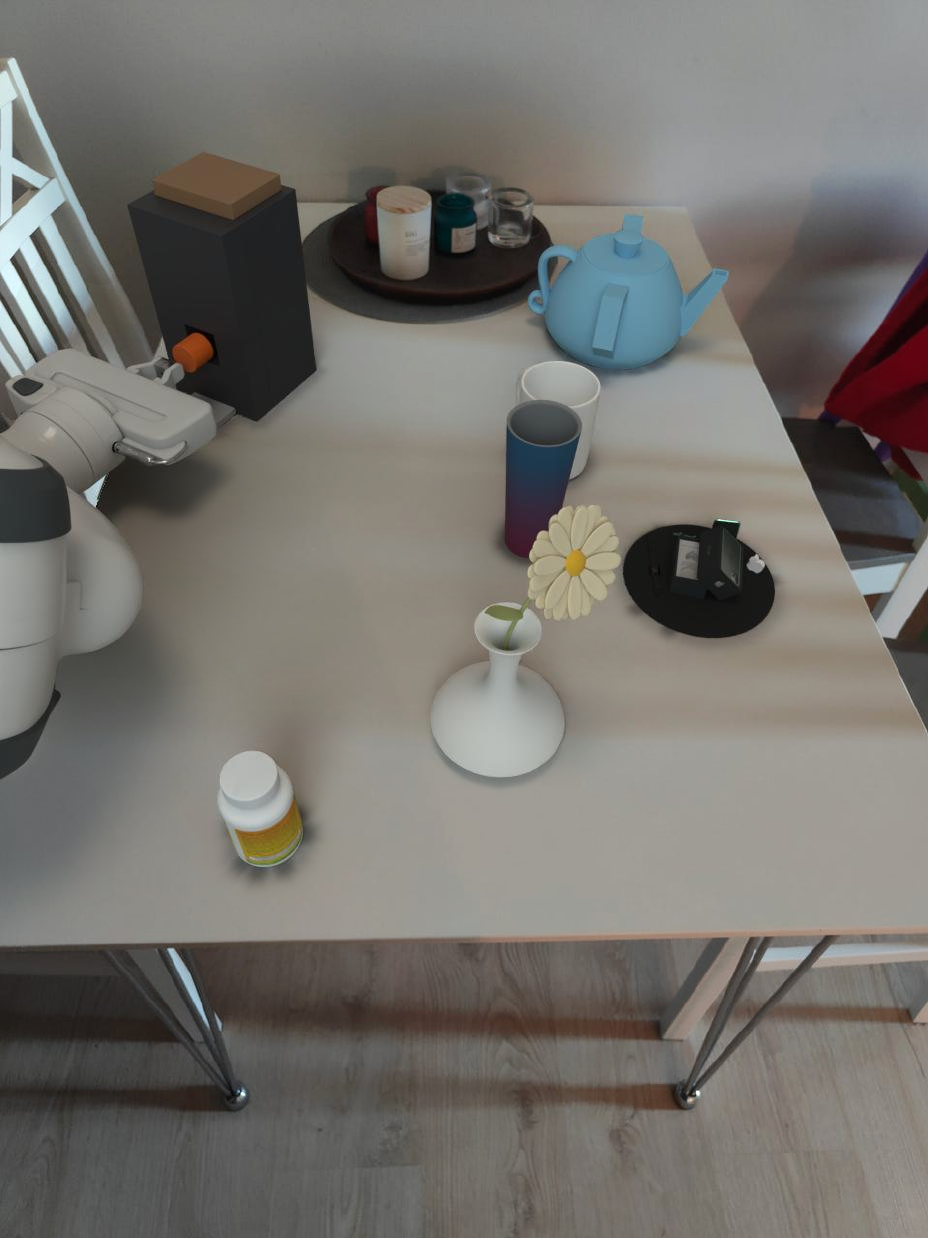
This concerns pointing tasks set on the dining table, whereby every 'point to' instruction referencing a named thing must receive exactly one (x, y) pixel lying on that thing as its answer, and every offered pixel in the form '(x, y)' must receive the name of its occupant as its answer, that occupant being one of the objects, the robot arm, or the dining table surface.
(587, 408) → the mug
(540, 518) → the cup
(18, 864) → the dining table surface
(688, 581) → the black round display stand
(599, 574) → the flower in vase
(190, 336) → the power button
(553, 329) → the teapot
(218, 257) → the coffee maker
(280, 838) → the supplement bottle
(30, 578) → the robot arm
